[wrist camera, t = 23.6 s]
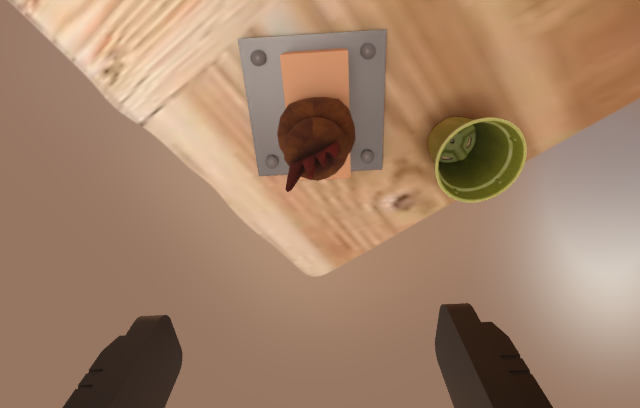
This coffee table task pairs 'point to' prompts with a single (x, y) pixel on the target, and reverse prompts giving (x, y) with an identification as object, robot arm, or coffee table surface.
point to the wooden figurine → (315, 138)
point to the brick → (317, 81)
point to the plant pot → (476, 156)
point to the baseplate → (270, 103)
